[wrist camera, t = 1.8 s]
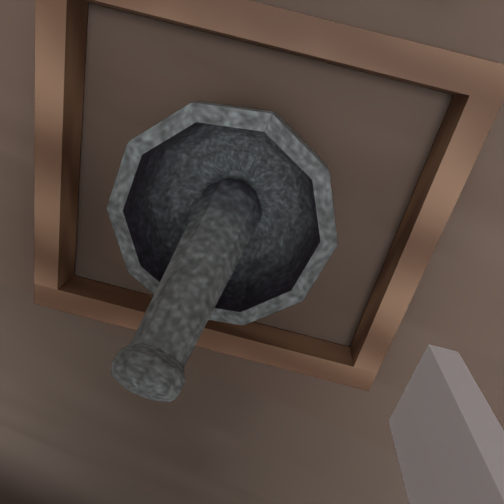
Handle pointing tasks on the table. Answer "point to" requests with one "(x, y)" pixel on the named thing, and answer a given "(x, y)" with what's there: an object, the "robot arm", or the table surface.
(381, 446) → the table surface
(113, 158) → the table surface
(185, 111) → the mortar and pestle
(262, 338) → the frame
